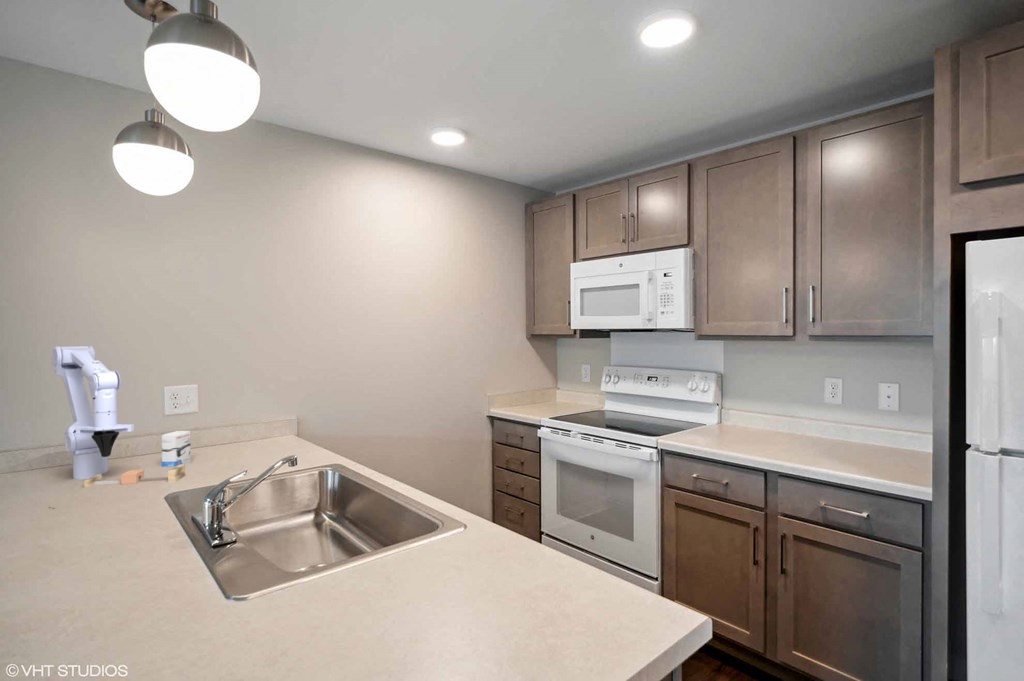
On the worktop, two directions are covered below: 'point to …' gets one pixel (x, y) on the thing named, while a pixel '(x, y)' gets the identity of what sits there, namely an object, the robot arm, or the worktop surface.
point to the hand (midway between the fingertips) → (106, 456)
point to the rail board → (172, 477)
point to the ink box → (176, 448)
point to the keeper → (132, 476)
